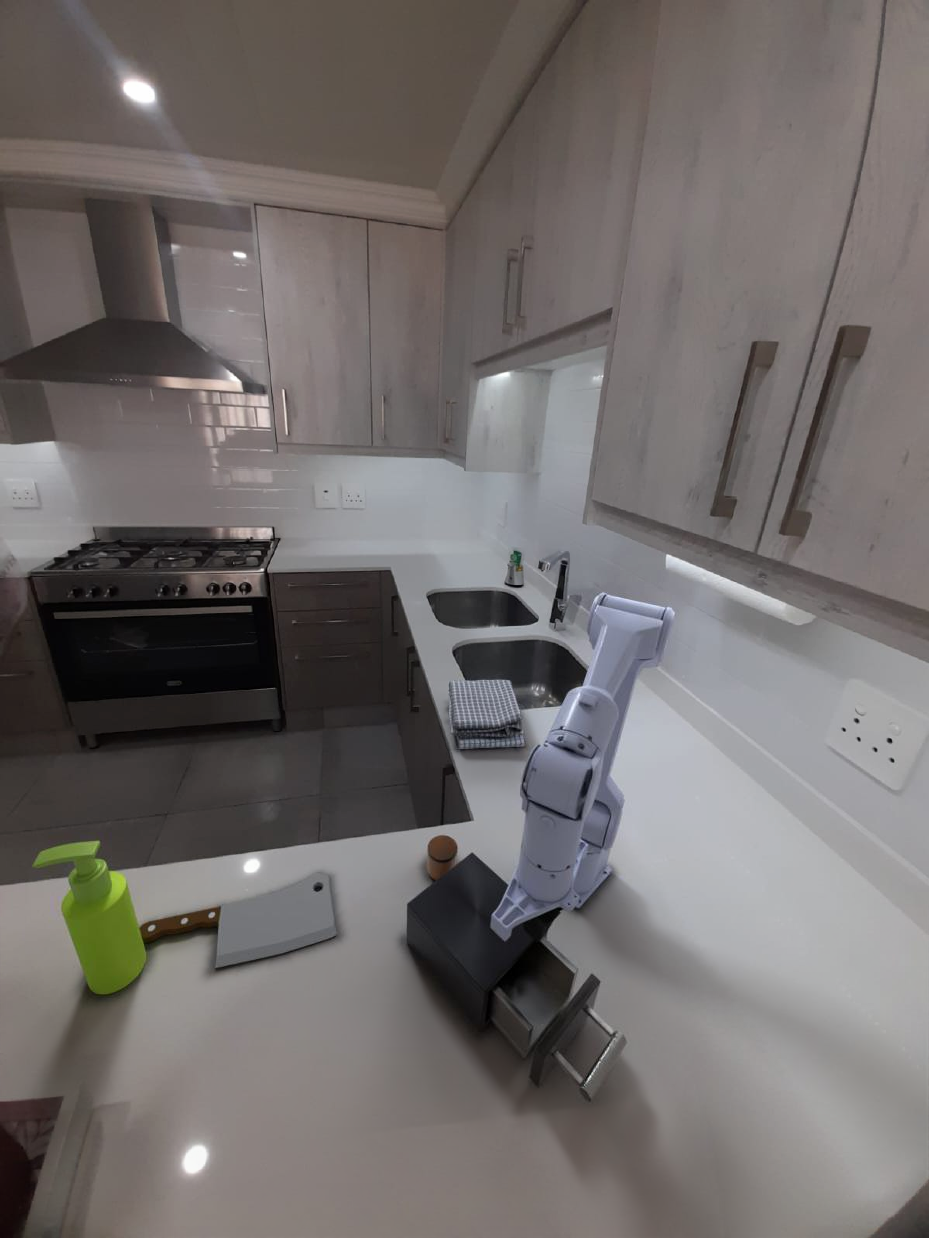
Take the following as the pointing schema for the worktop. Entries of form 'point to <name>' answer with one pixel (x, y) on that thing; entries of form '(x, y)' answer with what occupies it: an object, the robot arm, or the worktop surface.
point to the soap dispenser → (99, 917)
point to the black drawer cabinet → (464, 935)
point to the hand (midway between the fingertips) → (534, 932)
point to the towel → (485, 714)
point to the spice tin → (441, 856)
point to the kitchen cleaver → (260, 922)
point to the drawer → (550, 1014)
